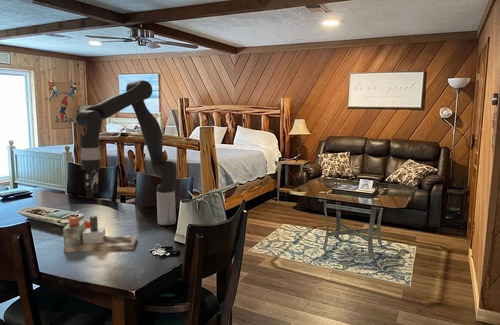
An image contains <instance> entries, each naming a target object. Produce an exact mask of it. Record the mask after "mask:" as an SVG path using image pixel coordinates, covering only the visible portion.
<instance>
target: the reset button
mask: <svg viewBox="0 0 500 325" xmlns="http://www.w3.org/2000/svg"><path fill="white" fill-rule="evenodd" d="M79 221H80V217H79V216H71V217H68V224H69V226H78V225H79Z"/></svg>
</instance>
